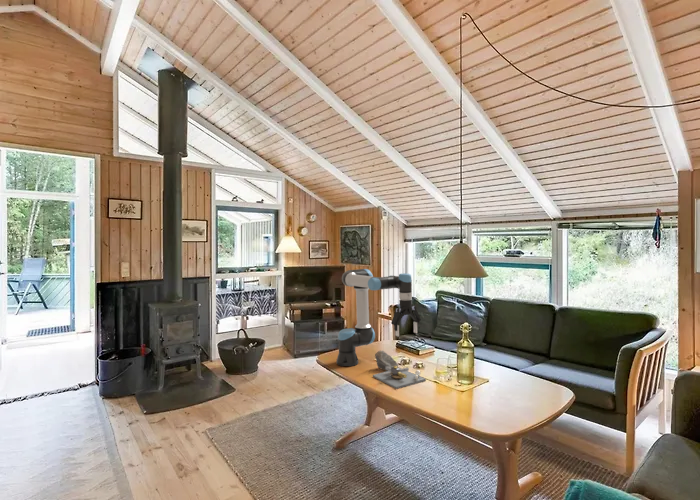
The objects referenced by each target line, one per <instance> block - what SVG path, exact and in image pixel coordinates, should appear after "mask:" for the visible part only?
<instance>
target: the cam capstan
mask: <svg viewBox="0 0 700 500" xmlns="http://www.w3.org/2000/svg"><path fill="white" fill-rule="evenodd" d="M400 368H401V367H399V365H398V366H394V367H392V368H390V367H388V366H387V367H385V369H386V370H388V371H390V372H387V371H386V370H385V372H386V373H383V372H381V373H382V376H383V377H386V376H389V375H391V377H392V378H393V379H402V378H407V375H406V374H403V373H401V372H405V371H409V370H410V369H409V367H403V368H402V369H400ZM409 372H410V371H409Z"/></svg>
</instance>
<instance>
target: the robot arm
mask: <svg viewBox="0 0 700 500" xmlns="http://www.w3.org/2000/svg"><path fill="white" fill-rule="evenodd" d="M412 281H413V279H412V274H411V273H406V272H405V273H403V272H402V273H399V274H398V275H388V276H374V275H373V272H371V270H370V269H368V268H358V269H348V270H346V271H345V272H344V273H342V276H341V282H342V284H343V285H344V286H346V287H348V288H349V287H352V288H353V289H354V291H355V300H356V303H355V304H356V325H355V326H354V328H352V327H349V328H343V329H341V330H340V331H339V332H338V336H337V340H338V354H337V358H336V365H337V364H338V365H337V366H339V365H340V366H339V367H343V366H350V367H355V366H357V365H358V364H359V358H358V355H357V353H356V348H357V347H362V346H369V345H371V344H373V342H375V338H376V332H375V330H374V328H373V327H372V325H371V323H370V311H369V310H370V309H369V308H370V307H369V305H370V304H369V290H370V291H382V290H390V289H398V296H399V303H398V304H399V308H398V307H396V308H395V310H394V314H393V317H392V320H391V322H390V323H391V325H393V327H394V328H393V329H394V332H395V333H394V335H395V337H400V325H399V324H400V322H401V320H402V319H403V317H404V316H407V315H409V316H410V317H411V319H412V320H413V324H412V325H413V333H414V334H418V328H419V322H420V321H421V320H422V319H421V317H420V314H419V313H418V310H417V306H415V305H413V300H412V299H413V291H412V290H413V289H412V284H413V283H412Z"/></svg>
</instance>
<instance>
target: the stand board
mask: <svg viewBox="0 0 700 500" xmlns="http://www.w3.org/2000/svg"><path fill="white" fill-rule="evenodd" d="M399 368H400V369H403V368H401V367H399ZM386 372H390V371H383V372H379V373H375V374H372V378H374V379H376V380H378V381H380V382H383V383H384V384H386V385H388V386H389V387H392V388H394V389H395V390H398V389H402V388H404V387H409V386H413V385H417V384H420V383H423V382H426V381H427V379H426V378H424V377H422V376H420V375H421V371H420V370H419V369H417V370H415V373H413V372H411V371H405V372H401V373H403V374H406V375H407V378H402V379H393V378H392V377H391V375H389V376H386V377H383V376H382V373H386Z"/></svg>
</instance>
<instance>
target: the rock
mask: <svg viewBox="0 0 700 500" xmlns="http://www.w3.org/2000/svg"><path fill="white" fill-rule="evenodd" d="M374 357H375V360H376V365H377V368H379V369H380V370H384V371H385V372H387V371H388V370H386V369H385V367H387V366H388V367H390V368H392V367H394V366H398V367H399V364H398V362H396V361H395V360H394V358H393V357H392V356H391V355H389V354H388V353H387V352H386V351H384V350H378V351H377V352H375V353H374Z"/></svg>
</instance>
